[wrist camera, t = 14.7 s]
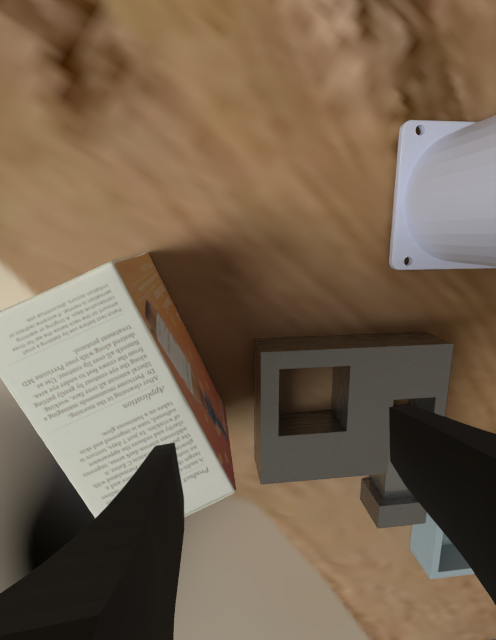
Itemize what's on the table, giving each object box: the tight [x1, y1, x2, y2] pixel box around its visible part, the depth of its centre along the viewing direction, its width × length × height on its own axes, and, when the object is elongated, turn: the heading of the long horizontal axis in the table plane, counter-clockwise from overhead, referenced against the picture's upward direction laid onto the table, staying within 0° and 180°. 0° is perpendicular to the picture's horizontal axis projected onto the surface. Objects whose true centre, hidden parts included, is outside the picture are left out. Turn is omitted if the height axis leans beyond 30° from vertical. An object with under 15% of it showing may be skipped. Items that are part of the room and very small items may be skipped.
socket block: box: [254, 332, 454, 484], centre depth 22 cm, size 11×8×3 cm
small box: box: [0, 252, 236, 518], centre depth 17 cm, size 8×6×10 cm
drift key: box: [360, 446, 427, 528], centre depth 24 cm, size 3×7×3 cm, turn 1°
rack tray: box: [410, 513, 475, 579], centre depth 25 cm, size 8×8×2 cm
